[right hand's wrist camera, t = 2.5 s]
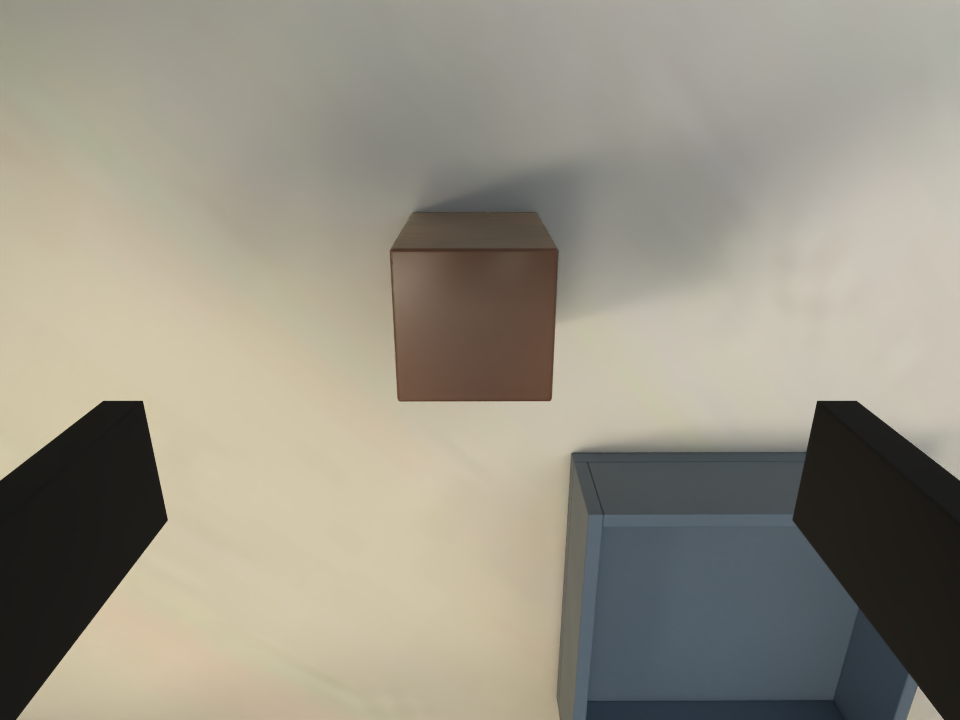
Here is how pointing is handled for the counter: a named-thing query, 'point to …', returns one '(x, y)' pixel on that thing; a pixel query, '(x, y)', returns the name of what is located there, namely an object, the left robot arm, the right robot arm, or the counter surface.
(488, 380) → the block
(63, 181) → the counter surface
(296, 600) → the counter surface
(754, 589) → the tray
